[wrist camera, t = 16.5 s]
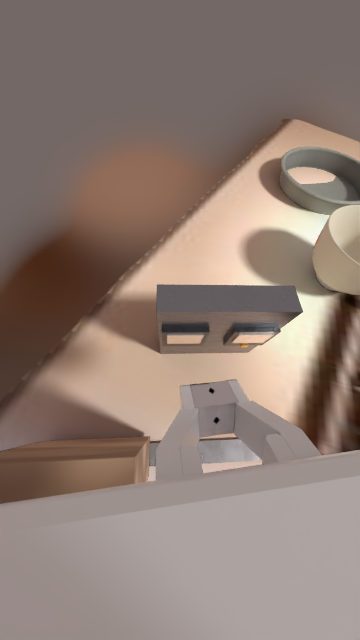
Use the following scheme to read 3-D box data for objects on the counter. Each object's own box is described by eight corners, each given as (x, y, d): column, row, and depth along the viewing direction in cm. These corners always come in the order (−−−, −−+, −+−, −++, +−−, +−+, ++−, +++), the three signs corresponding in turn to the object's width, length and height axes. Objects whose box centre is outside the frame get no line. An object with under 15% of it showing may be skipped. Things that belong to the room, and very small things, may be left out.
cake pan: (376, 191, 54) (393, 173, 50) (345, 235, 45) (362, 218, 41) (297, 154, 60) (306, 136, 56) (256, 188, 51) (263, 168, 47)
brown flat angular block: (148, 475, 23) (131, 538, 12) (33, 482, 22) (-110, 557, 11) (149, 436, 25) (135, 457, 13) (43, 441, 24) (-72, 467, 12)
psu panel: (275, 458, 25) (383, 504, 13) (59, 470, 23) (-67, 538, 11) (250, 334, 33) (303, 286, 20) (84, 336, 31) (27, 283, 18)
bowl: (343, 329, 34) (406, 299, 25) (275, 269, 39) (307, 226, 30) (387, 287, 39) (453, 249, 30) (321, 238, 44) (361, 193, 35)
